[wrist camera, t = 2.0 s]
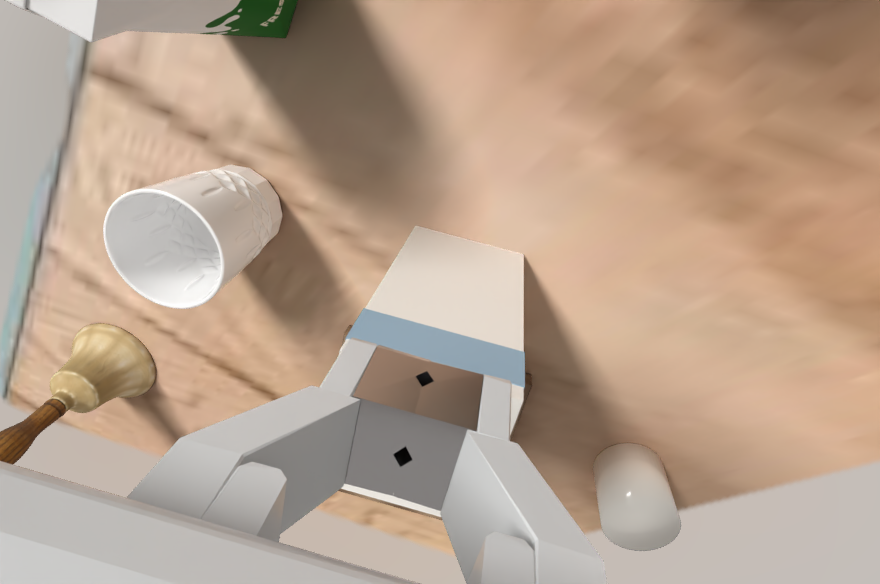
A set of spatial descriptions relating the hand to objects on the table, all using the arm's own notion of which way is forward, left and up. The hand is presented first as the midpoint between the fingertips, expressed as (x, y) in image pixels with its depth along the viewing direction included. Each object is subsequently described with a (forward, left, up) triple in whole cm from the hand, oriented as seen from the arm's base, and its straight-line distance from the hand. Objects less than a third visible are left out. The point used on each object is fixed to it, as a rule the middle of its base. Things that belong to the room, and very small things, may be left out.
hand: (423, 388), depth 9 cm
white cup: (+18, +10, -29) cm, 36 cm away
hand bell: (+30, +29, -29) cm, 51 cm away
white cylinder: (-19, +25, -29) cm, 43 cm away
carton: (0, +12, -29) cm, 31 cm away
